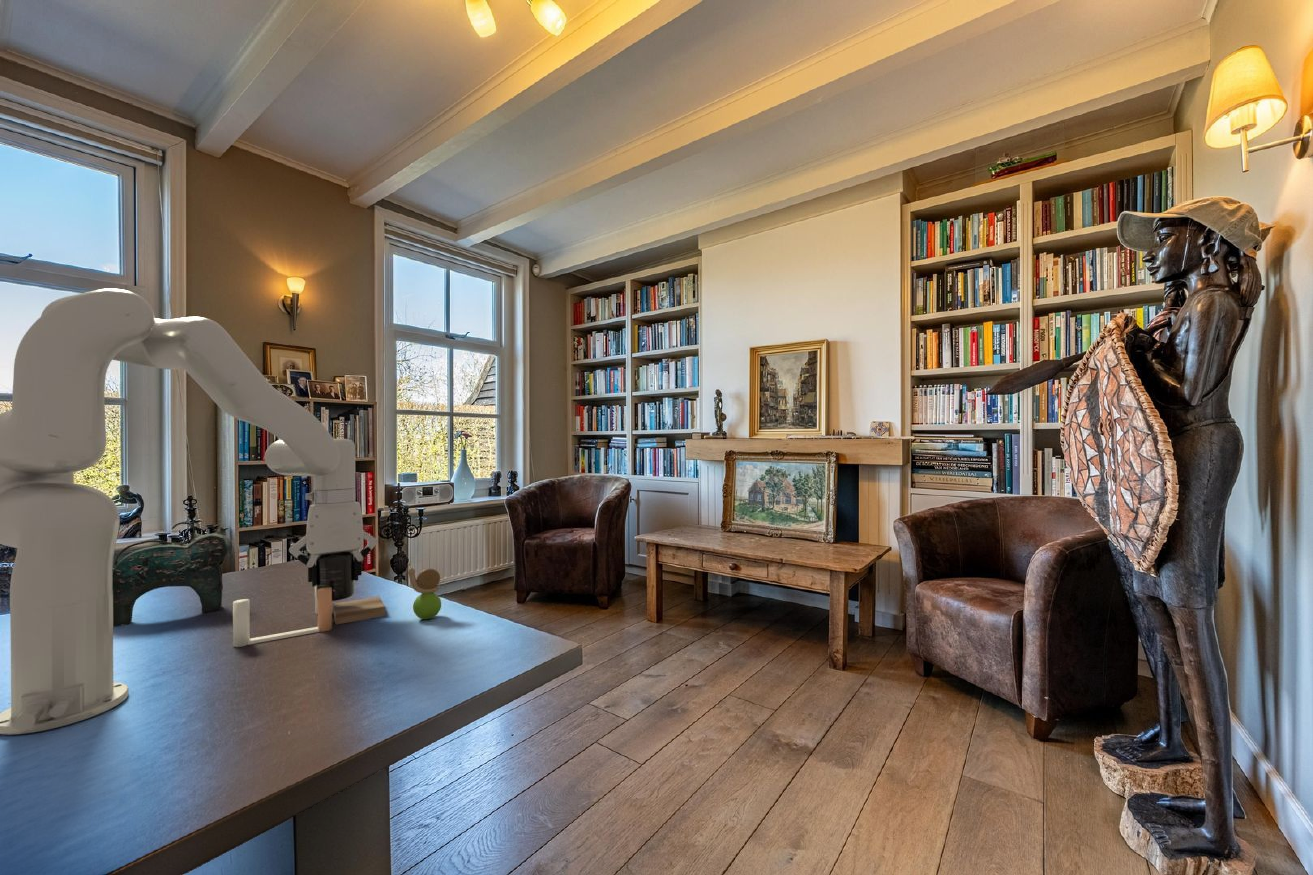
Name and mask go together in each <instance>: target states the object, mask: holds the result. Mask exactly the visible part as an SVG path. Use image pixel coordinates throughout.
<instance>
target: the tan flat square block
mask: <svg viewBox="0 0 1313 875" xmlns="http://www.w3.org/2000/svg"><path fill="white" fill-rule="evenodd" d="M332 616H333V619H334V623H335V625H342V624H346V623H348V624H349V623H353V622H358V621H364V620H368V619H375V618H381V617H385V616H386V606H385V604H384V602H383V600H382V599H381V596H373V597H365V598H360V599H352V600H347V601H341V602H335V603H333V602H332Z"/></svg>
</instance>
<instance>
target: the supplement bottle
mask: <svg viewBox="0 0 1313 875" xmlns="http://www.w3.org/2000/svg"><path fill="white" fill-rule="evenodd" d="M354 557H355V556H354V554H353V553H352V551H347V552H338V553H329V554H319V556H318V558H317V560H316V562H315V565H316V567H317V586H316V591H317V590H318V589H320V588H327V587H330V588H332V602H334V601H342V600H345V599H348V598H350V597H352V596H353V595H354V593H355V580H354Z"/></svg>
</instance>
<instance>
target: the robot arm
mask: <svg viewBox="0 0 1313 875" xmlns="http://www.w3.org/2000/svg"><path fill="white" fill-rule="evenodd" d="M112 361H118V362H122V363H127V364H131V365H137V366H143V367H149V368H156V369H162V370H172V371H173V370H175V371H177V370H185V372H186V373H187V375H189V377H191V378H192V379H193V380H194V381H195V382H196V383H197V384H198V385H199V387H201V389H202V390H203V391H205V393H206V394H207V395H208V396H209V397H210V399H211V400H213V402H214V403H215V404H216V405H217V406H218V408H220V409H221V410H222V411H223V412H224V413H225V414H227V415H228V416H230V417H233V418H235V419H237V420H239V421H242V422H245V423H247V424H250V425H253V426H255V427H258V428H261V429H262V430H263V429H264V430H265V431H267V432H268V433H270V434H272V435H273V436H275V437H277V438H278V440H276V441H274V442H272V443H271V444H270V445H269V446H268V447H267V449H266V451H264V452H265V453H264V461H265V464H266V465H267V467H268V468H269V469H270V470H271V471H272V472H274V473H275V474H279V475H282V476H289V477H291V476H292V477H313V491H311V492H309V493H308V492H307V493H305V498H304V499H305V500H306V501H312V502H313V504H310V505H309V508H308V512H307V520H306V529H305V531H306V533H305V535H303V537H302V538H300V539H298V541H296V542H295V543H294V544H293V545H291V546H290V547H289V549H288V552H289V553H290V554H291V555H292V556H293V557H295V558H296V559H297V560H298V561H300V563H302V564H303V565H305V566H306V567H307V582H308V583H311V585H312V588H315V586H317V567H316V560H317V558H318V556H319V555H320V554H329V553H338V552H347V551H350V552H352V554H353V556H354V582H357V581H359V576H362V573H363V572H362V570H363V569H362V567H363V566H362V561H364V559H365V558H366V557H367V556H368V555H369V554H370V553H371V551H372V550H373V549H374V548H375V547H376V545H377V544H378V542H379V540H378V539H377V538H375V537H374V536H373V535H371V534H370V533H368V532H366V531H365V530H364V523H363V522H364V521H363V512H362V509H361V504H360V502H359V501H358V502H357V501H356V444H355V442H354V440H351V439H348V438H334V437H333V436H332V435H331V433H330V432H329V431H328V430H327V428H326V427H325V426H324V424H322V422H321V421H320V420H319V419H318V418H317V417H316V416H315V415H314V414H312V413H311V412H310V411H309V410H307V409H306V408H305V407H304V406H302V405H301V404H299V403H297V402H296V401H295V400H294V399H292V398H290V397H289V396H288V395H286V394H284V393H283V392H282V391H280V390H278V389H276V388H275V387H274V386H273V385H272V384H271V383H270V382H269V381H268V380H267V378H265V377H264V375H263V374H262V372H261V371H260V370H259V369H258V368H257V367H256V365H255V364H254V363H253V362H252V360H250V358H249V357H248V356H247V354H246V353H245V352H244V351H243V350H242V348H241V347H240V346H239V345H238V344H237V342H236V341H235V340H234V338H232V336H231V335H230V334H229V333H228V332H227V330H226V329H224V327H222V326H221V325H220V323H218V322H217V321H215V320H212V319H211V318H207V317H201V316H187V317H180V318H179V317H177V318H171V319H162V318H156V316H155V311H154V310H153V307H152V306H151V304H150V303H149V302H148V301H147V300H146V299H145V298H144V297H143V296H141V295H139V294H137V293H136V292H133V291H130V290H126V289H120V288H101V289H95V290H91V291H86V292H81V293H77V294H72V295H67V296H64V297H61V298H58V299H56V300H54V301H51V302H50V303H49V304H48V305H46V306H45V307H44V309H43V310H42V311H41V316H40V317H39V318H38V319H36V321H35V322H33V324H32V325H31V326H30V327H29V328H28V330H27V331H26V333H25V334H24V335H23V336H22V338H21V340H20V342H19V345H18V347H17V349H16V353H15V357H14V363H13V377H12V378H13V381H12V397H11V398H12V401H11V402H12V404H11V409H9V410H7V411H4V412H1V413H0V545H3V546H7V547H10V548H15V549H16V554H15V559H14V563H13V567H12V570H11V571H12V572H11V576H10V585H9V608H10V609H9V611H10V620H9V621H10V624H9V626H10V630H9V631H10V707H8V708H7V709H5V710H3V711H2V712H0V735H6V736H7V735H9V736H11V735H14V736H15V735H23V734H24V735H25V734H32V733H33V734H34V733H37V732H43V731H48V730H52V729H56V728H57V729H58V728H61V727H65V726H69V725H72V724H75V723H78V722H81V721H85V720H88V719H91V718H93V717H96V716H98V715H101V714H103V713H105V712H107V711H109V710H111V709H112V708H114V707H116V706H118V705H119V704H121V703H122V702H124V701H125V700H126V699H127V697H129V691H130V690H129V685H128V684H125V683H124V682H116V681H114V627H113V569H114V559H115V558H114V557H115V550H116V544H117V540H118V536H119V531H120V524H121V523H120V519H121V518H120V512H119V509H118V507H117V504H116V503H115V501H114V500H113V499H112V498H111V497H110V496H109V495H108V494H106V493H105V492H104V491H102V490H100V489H98V488H95V487H93V486H91V485H85V484H81V483H80V484H79V483H75V482H74V481H75V480H74V478H75V475H74V473H76V472H81V471H84V470H87V469H88V468H92V467H93V466H95V465H96V464H97V463H98V462H99V461H100V460H101V459H102V458H103V456H104V454H105V452H106V446H107V430H106V406H105V405H106V404H105V403H106V402H105V401H106V400H105V389H106V388H105V387H106V377H107V372H108V369H109V366H110V364H111V362H112ZM364 540H365V541H367V542H368V543H367V544H366V546H364ZM305 545H306V546H305ZM304 546H305V547H306V551H307V552H308V553H309V556H307V555H306V554H304V553H303V552H302V551H300V549H301V548H303V547H304ZM360 549H361V550H360Z"/></svg>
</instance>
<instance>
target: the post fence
mask: <svg viewBox="0 0 1313 875" xmlns="http://www.w3.org/2000/svg"><path fill="white" fill-rule="evenodd" d="M250 605H251V604H250V598H249V599H248V598H243V599H237V600H234V601H233V602H232V647H233V648H240V647H245V646H248V645H254V644H259V643H265V642H270V641H275V640H281V639H287V638H291V637H296V636H297V637H298V636H303V635H309V634H315V633H322V632H328V631H331V630H332V629H333V601H332V588H330V587H327V588H320V589H318V590H317V591H316V586H314V614H315V615H317V626H314V627H309V628H303V629H297V630H291V631H287V632H280V633H276V634H275V633H274V634H269V635H264V636H256V637H252V638H250V635H251V634H250V632H251V631H250V628H251V626H250V623H251V622H250V621H251V620H250V617H251V616H250Z"/></svg>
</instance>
